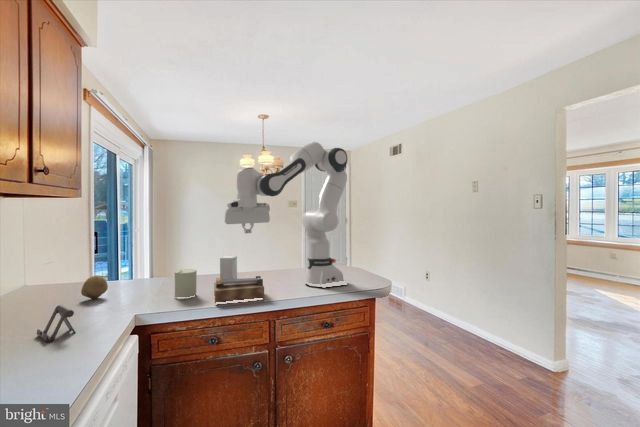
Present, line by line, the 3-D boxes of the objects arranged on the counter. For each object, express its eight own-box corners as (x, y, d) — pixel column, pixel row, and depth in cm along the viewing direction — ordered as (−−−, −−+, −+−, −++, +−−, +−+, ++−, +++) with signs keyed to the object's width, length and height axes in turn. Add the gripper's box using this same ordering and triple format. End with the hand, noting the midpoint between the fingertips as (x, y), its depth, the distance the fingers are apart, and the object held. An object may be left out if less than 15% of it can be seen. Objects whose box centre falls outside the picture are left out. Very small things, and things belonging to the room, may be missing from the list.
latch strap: (260, 280, 142) (260, 276, 142) (261, 282, 138) (261, 278, 138) (215, 282, 136) (215, 278, 136) (216, 285, 132) (216, 280, 132)
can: (169, 297, 137) (169, 270, 137) (187, 292, 145) (187, 267, 145) (183, 300, 133) (183, 272, 132) (201, 295, 141) (201, 269, 140)
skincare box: (232, 290, 150) (232, 258, 149) (218, 290, 150) (219, 258, 149) (237, 285, 158) (237, 255, 158) (224, 285, 158) (224, 255, 158)
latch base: (258, 292, 147) (258, 274, 147) (264, 300, 134) (264, 281, 134) (214, 295, 140) (214, 277, 140) (215, 305, 127) (215, 284, 127)
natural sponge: (113, 296, 137) (113, 274, 137) (93, 303, 128) (93, 279, 128) (97, 295, 139) (97, 273, 139) (77, 300, 131) (77, 277, 130)
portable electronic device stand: (36, 336, 96) (36, 309, 96) (67, 328, 102) (67, 303, 102) (46, 343, 91) (45, 315, 91) (78, 334, 98) (78, 308, 97)
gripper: (268, 202, 149) (269, 231, 150) (223, 203, 142) (224, 233, 143) (270, 202, 144) (271, 232, 144) (224, 203, 136) (225, 235, 137)
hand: (248, 233), depth 143 cm, fingers closed
